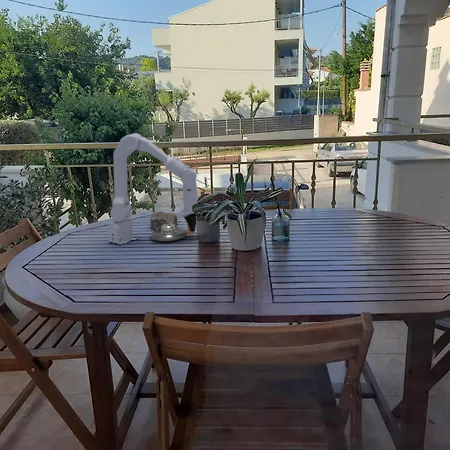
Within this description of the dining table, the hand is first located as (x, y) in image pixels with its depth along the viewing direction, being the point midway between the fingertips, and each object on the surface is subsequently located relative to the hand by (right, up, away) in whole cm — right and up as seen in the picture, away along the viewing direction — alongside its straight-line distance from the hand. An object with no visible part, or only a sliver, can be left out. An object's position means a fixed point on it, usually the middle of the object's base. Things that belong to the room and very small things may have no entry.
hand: (192, 231), depth 164 cm
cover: (-10, 0, +2) cm, 10 cm away
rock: (-15, +2, +20) cm, 25 cm away
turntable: (-9, -2, +2) cm, 9 cm away
